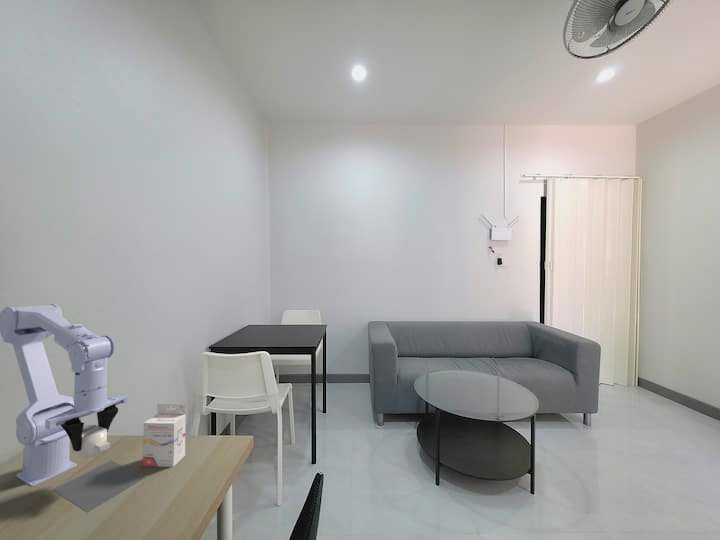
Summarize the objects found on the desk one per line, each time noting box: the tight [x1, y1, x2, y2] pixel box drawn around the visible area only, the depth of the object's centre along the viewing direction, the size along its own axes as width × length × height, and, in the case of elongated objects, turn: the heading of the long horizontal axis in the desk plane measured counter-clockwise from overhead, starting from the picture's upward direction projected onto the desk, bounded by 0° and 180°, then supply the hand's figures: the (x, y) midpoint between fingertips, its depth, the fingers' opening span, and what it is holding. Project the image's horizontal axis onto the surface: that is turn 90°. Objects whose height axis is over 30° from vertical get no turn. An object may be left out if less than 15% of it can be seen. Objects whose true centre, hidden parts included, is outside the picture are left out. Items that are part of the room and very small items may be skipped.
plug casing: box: [72, 424, 111, 459], centre depth 65 cm, size 11×4×4 cm, turn 67°
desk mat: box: [52, 460, 147, 513], centre depth 65 cm, size 16×11×1 cm
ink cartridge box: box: [142, 402, 187, 468], centre depth 73 cm, size 9×5×15 cm, turn 88°
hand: (89, 444), depth 66 cm, fingers closed on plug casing, 4 cm apart
